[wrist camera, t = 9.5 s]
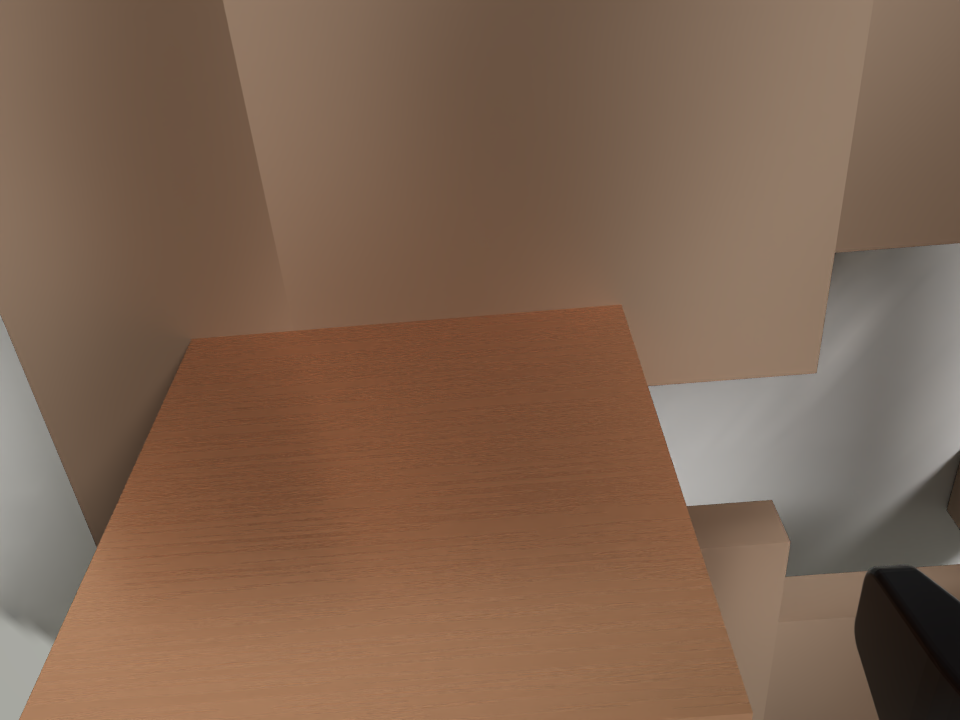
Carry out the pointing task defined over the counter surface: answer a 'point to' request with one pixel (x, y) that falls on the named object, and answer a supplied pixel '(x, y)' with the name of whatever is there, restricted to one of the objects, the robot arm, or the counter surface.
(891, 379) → the counter surface
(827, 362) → the counter surface
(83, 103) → the four-legged frame stand
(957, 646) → the robot arm
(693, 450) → the counter surface
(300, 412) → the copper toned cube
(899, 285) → the counter surface
